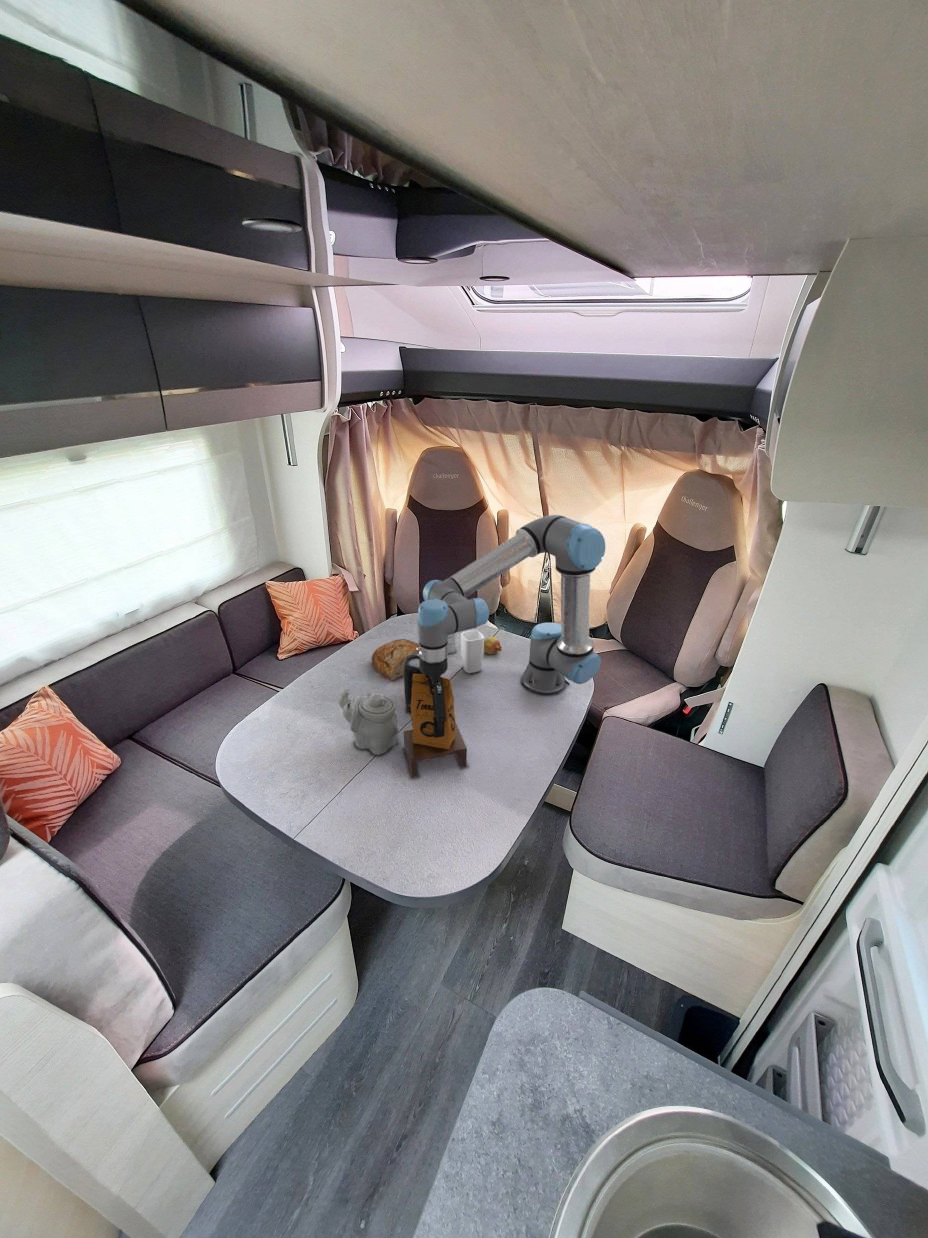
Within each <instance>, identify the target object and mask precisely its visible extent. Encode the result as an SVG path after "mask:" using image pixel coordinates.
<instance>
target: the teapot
mask: <svg viewBox="0 0 928 1238" xmlns="http://www.w3.org/2000/svg"><path fill="white" fill-rule="evenodd" d="M350 694H351V691H350V690H349V689H347V688H345V689H344V690H343V692H342V693H341V696H340V697H339V700H338V705H339V707H340V708H341V710H342V716H343V718H344V719H345V721H346V722H348V723H349V729H350V731H351V732H352V736H353V737H354V740H355V746H356V747H357V749H360V750H369V751H370V752H371V754H373V755H375V756H380V755H384V754H385V753H386V752H387V751H388V750H390V749H391V748H392V747H393V746H395V745H396V744H397V743H398V733H399V727H398V726H399V725H398V724H399V718H398V715H397V712H396V711H397V704H396V702H395V700H394V699H393V698H391V697H389V696H386V695H383V694H381V693H378V692H375V693H373V694H372V693H370V692H367V693H366V696H365V695H358V696H356V697H354V698H352V699H350V698H349V695H350Z"/></svg>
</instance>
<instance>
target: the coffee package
mask: <svg viewBox="0 0 928 1238" xmlns="http://www.w3.org/2000/svg"><path fill="white" fill-rule="evenodd" d="M441 677H442V681H443V682H442V685H444V698H445V709H446V718H447V721H444V736H443V737H437V738H434V721H433V720H432V718H434V717H435V714H434V707H433V700H432V695H431V694H430V691H429V685H428V683H427V679H428V678H426V676H425V674H413V677H412V680H413V684H412V698H411V714H410V715H411V727H412V730H413V736H412V742H413V743H415V744H421V745H427V746H431V747H435V748H443V749H449V748H450V745H451V744H452V742H453V741H454V740H455V729H456V724H457V722H456V715H455V698H454V694H453V687H452V686H453V685H452V683H451V678H448V677H446V678H445V677H443V676H441ZM432 691H434V690H432Z"/></svg>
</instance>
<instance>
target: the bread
mask: <svg viewBox="0 0 928 1238" xmlns="http://www.w3.org/2000/svg"><path fill="white" fill-rule="evenodd" d="M418 647H419V643H417V642H415V641H412V640H409V639H405V638H401V639H400V638H399V639H394V640H391V641H389V642H386V643H384V644H381V645H379V646H378V647H377V648H376V649H375V650H374V651H373V653H372V655H371V663H372V666H373V668H374V669H375V671H376V672H378V673H379V674H380V675H382V676H383V677H385V678H387V679H388V680H390V681H395V680H397V679H399V678H401V677H404V664H405V661H406V659H407V657H409V656H412V655H419V651H417V648H418Z"/></svg>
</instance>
